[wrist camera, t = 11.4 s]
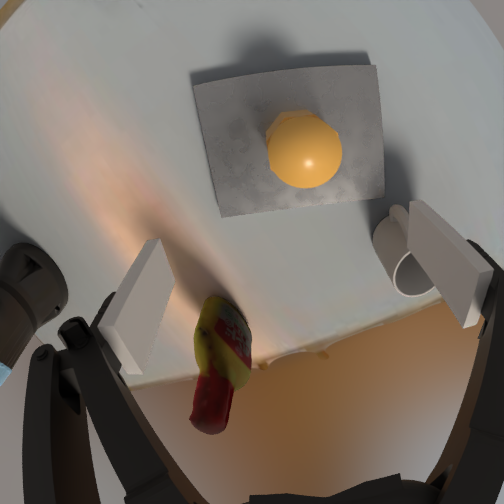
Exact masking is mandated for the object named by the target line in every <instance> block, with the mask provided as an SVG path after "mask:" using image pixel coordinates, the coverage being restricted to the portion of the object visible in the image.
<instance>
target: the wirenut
mask: <svg viewBox="0 0 504 504" xmlns="http://www.w3.org/2000/svg"><path fill="white" fill-rule="evenodd" d="M266 144H267V150H268V157H269V162H270V169H271V170H272V171H273V172H274V173H275V174H276V175H277V176H278V177H279V178H280V179H281V180H282V181H283V182H285V183H287V184H289V185H291V186H294V187H297V188H313V187H317V186H320V185H322V184H324V183H325V182H327V181H328V180H329V179H331V178H332V177H333V176H334V174H335V173H336V172H337V170H338V168H339V166H340V163H341V159H342V146H341V142H340V139H339V137H338V133H337V132H336V131H335V130H334V129H333V128H331V127H330V126H329V125H328V124H326V123H325V122H324V121H323V120H321V119H320V118H319V117H318V116H316V115H315V114H313V113H312V112H310V111H308V110H297V111H288V112H281V113H280V114H279V116H278V117H277V118H276V119H275V121H274V122H273V123H272V125H271V126H270V127H269V128H268V130H267V131H266Z"/></svg>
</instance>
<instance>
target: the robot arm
mask: <svg viewBox="0 0 504 504" xmlns="http://www.w3.org/2000/svg"><path fill="white" fill-rule="evenodd" d="M407 248H408V249H409V251H410V252H411V253H412V255H413V256H414V257H415V259H416V260H417V261H418V263H419V264H420V265H421V267H422V268H423V269H424V271H425V272H426V274H427V275H428V276H429V278H430V279H431V281H432V282H433V284H434V285H435V287H436V288H437V289H438V291H439V292H440V294H441V295H442V297H443V298H444V300H445V301H446V303H447V304H448V306H449V307H450V309H451V310H452V312H453V314H454V315H455V317H456V318H457V320H458V321H459V323H460V325H461V326H462V328H466V327H470V326H473V325H476V324H477V322H478V320H479V317H480V314H482V315H483V316H484V318H485V321H484V324H483V326H482V329H481V331H480V334H479V336H478V339H480V340H479V346H478V349H477V354H476V357H475V361H474V365H473V369H472V372H471V376H470V379H469V383H468V386H467V389H466V392H465V395H464V398H463V401H462V404H461V407H460V410H459V413H458V415H457V418H456V421H455V424H454V426H453V429H452V431H451V434H450V436H449V439H448V441H447V443H446V445H445V448H444V450H443V452H442V455H441V457H440V459H439V461H438V463H437V465H436V466H435V468H434V469H433V471H432V472H431V474H430V475H429V477H428V479H427V480H426V482H425V483H424V482H420V481H415V480H401V477H400V473H398V474H395V475H391V476H387V477H384V478H379V479H375V480H371V481H366V482H363V483H361V484H359V485H357V486H354V487H352V488H350V489H347V490H345V491H343V492H340V493H338V494H335V495H333V496H330V497H312V496H304V495H295V494H288V493H285V494H270V495H250V497H249V502H246V503H243V504H495V502H496V500H497V497H498V494H499V492H500V490H501V487H502V484H503V481H504V271H503V270H502V268H501V267H500V266H499V265H498V264H497V263H496V262H495V261H494V260H493V259H492V258H491V257H490V256H489V255H488V254H487V253H486V252H484V250H483V249H482V248H481V247H480V246H479V245H478V244H477V243H475V242H473V241H471V240H469V239H468V240H465V239H464V238H463V237H462V236H461V235H460V234H459V233H458V232H457V231H456V230H455V229H454V228H453V227H452V226H451V225H450V224H448V223H447V222H446V221H445V220H444V219H443V218H442V217H441V216H440V215H439V214H437V213H436V212H435V211H434V210H433V209H432V208H431V207H430V206H428V205H427V204H426V203H425V202H424V201H423V200H416V201H410V202H409V225H408V240H407ZM174 283H175V279H174V276H173V273H172V271H171V268H170V265H169V262H168V260H167V257H166V254H165V251H164V248H163V245H162V243H161V240H160V238H158V239H153V240H147V242H146V243H145V245H144V246H143V248H142V250H141V251H140V253H139V254H138V256H137V258H136V259H135V261H134V263H133V264H132V266H131V268H130V269H129V271H128V273H127V274H126V276H125V278H124V280H123V281H122V283H121V285H120V286H119V288H118V290H117V292H112V293H111V294H110V295H109V296H108V297H107V298H106V299H105V301H104V302H103V304H102V306H101V308H100V309H99V311H98V314H97V315H96V316H95V318H94V320H93V322H92V324H91V325H90V327H89V326H88V325H87V323H86V321H85V320H84V319H83V317H79V316H78V317H73V318H71V319H69V320H67V321H66V322H64V323H63V324H62V325H61V327H60V328H59V330H58V337H59V338H60V340H61V341H62V343H63V344H64V345H65V347H66V348H67V349H64V350H61V351H56V350H55V348H54V347H53V346H52V345H51V344H44V345H42V346H40V347H38V348H37V349H36V350H35V351H34V353H33V354H32V357H31V360H30V366H29V373H28V381H27V389H26V397H25V408H24V421H23V444H22V465H23V466H22V468H23V490H24V491H23V492H24V504H101V502H100V498H99V493H98V489H97V484H96V478H95V473H94V468H93V461H92V455H91V448H90V441H89V433H88V424H87V414H86V407H87V409H88V412H89V415H90V417H91V419H92V422H93V424H94V427H95V429H96V432H97V434H98V436H99V439H100V441H101V443H102V445H103V447H104V450H105V452H106V454H107V456H108V458H109V460H110V462H111V464H112V466H113V468H114V470H115V472H116V474H117V476H118V478H119V480H120V482H121V484H122V485H123V487H124V489H125V491H126V496H125V497H124V501H125V504H209V503H208V502H207V501H206V500H205V499H204V498H203V497H202V496H201V494H200V493H199V492H198V491H197V489H196V488H195V487H194V486H193V484H192V483H191V482H190V481H189V479H188V478H187V477H186V475H185V474H184V473H183V472H182V470H181V469H180V468H179V466H178V465H177V463H176V462H175V461H174V459H173V458H172V456H171V455H170V454H169V452H168V451H167V449H166V448H165V446H164V445H163V443H162V442H161V441H160V439H159V437H158V436H157V435H156V433H155V431H154V430H153V428H152V427H151V425H150V424H149V422H148V420H147V419H146V417H145V416H144V414H143V412H142V411H141V409H140V407H139V406H138V404H137V402H136V401H135V399H134V397H133V395H132V394H131V392H130V390H129V388H128V386H127V385H126V383H125V381H124V379H123V377H122V376H121V375H120V373H119V371H120V368H121V366H123V368H124V369H125V371H126V372H127V374H144V371H145V367H146V364H147V361H148V358H149V355H150V352H151V349H152V346H153V343H154V340H155V337H156V334H157V331H158V328H159V325H160V322H161V320H162V317H163V314H164V311H165V308H166V305H167V303H168V300H169V297H170V294H171V292H172V289H173V286H174ZM67 301H68V289H67V285H66V282H65V280H64V277H63V275H62V273H61V272H60V270H59V269H58V267H57V266H56V264H55V263H54V262H53V261H52V260H51V258H50V257H49V256H48V255H46V254H45V253H44V252H43V251H42V250H40V249H39V248H37V247H35V246H33V245H31V244H27V243H18V244H15V245H14V246H12V247H11V248H10V249H9V250H8V251H7V252H6V253H5V254H4V256H3V258H2V260H1V262H0V386H1V385H2V384H3V382H4V381H5V379H6V378H7V377H8V375H9V374H10V373H11V372H12V369H13V367H14V365H15V364H16V362H17V360H18V359H19V357H20V355H21V354H22V352H23V351H24V349H25V347H26V346H27V344H28V343H29V341H30V340H31V338H32V337H33V335H34V333H35V332H36V331H37V329H38V328H40V327H41V326H43V325H44V324H46V323H47V322H49V321H51V320H52V319H54V318H55V317H57V316H58V315H59V314H60V313H61V311H62V310H63V309H64V307H65V306H66V304H67Z"/></svg>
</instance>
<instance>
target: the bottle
mask: <svg viewBox="0 0 504 504" xmlns="http://www.w3.org/2000/svg"><path fill="white" fill-rule="evenodd" d="M251 343H252V335H251V331H250V329H249V327H248V325H247V323H246V322H245V320H244V319H243V317H242V316H241V314H240V313H239V311H238V310H237V309H236V308H235V307H234V306H233V305H232V304H231V303H230V302H228V301H227V300H225V299H223V298H220V297H209V298H207V299H206V300H205V303H204V306H203V308H202V310H201V314H200V317H199V320H198V323H197V326H196V328H195V333H194V350H195V358H196V362H197V364H198V367H199V369H200V374H199V377H198V381H197V387H196V390H195V395H194V401H193V411H192V414H191V416H190V418H189V420H190V421H191V423H192V424H193V426H194V427H195V428H197V429H198V430H200V431H201V432H203V433H206V434H210V435H214V434H218V433H220V432H222V431H224V430H225V428H226V425H227V423H228V419H229V412H230V408H231V403H232V397H233V393H234V391H236V390H238V389H240V388H242V387H243V386H244V385H245V384H246V383H247V381H248V380H249V377H250V373H251V362H252V359H251Z"/></svg>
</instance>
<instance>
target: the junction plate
mask: <svg viewBox="0 0 504 504" xmlns="http://www.w3.org/2000/svg"><path fill="white" fill-rule="evenodd" d="M193 89H194V94H195V99H196V104H197V108H198V113H199V118H200V123H201V127H202V132H203V137H204V141H205V146H206V151H207V155H208V160H209V164H210V169H211V173H212V178H213V182H214V187H215V191H216V196H217V200H218V205H219V209H220V213H221V218H224V217H231V216H237V215H244V214H252V213H259V212H266V211H274V210H281V209H289V208H297V207H305V206H313V205H322V204H330V203H339V202H348V201H357V200H367V199H376V198H385V179H384V147H383V130H382V116H381V105H380V95H379V85H378V77H377V69H376V65H339V66H320V67H307V68H296V69H287V70H278V71H270V72H263V73H256V74H250V75H244V76H238V77H232V78H227V79H222V80H217V81H212V82H207V83H203V84H198V85H194V86H193ZM297 110H308V111H310V112H312V113H313V114H315V115H316V116H318V117H319V118H320V119H321V120H323V121H324V122H325V123H326V124H328V125H329V126H330V127H331V128H333V129H334V130H335V131H336V132H337V133H338V137H339V139H340V142H341V146H342V159H341V163H340V166H339V168H338V170H337V172H336V173H335V174H334V176H333V177H332V178H331V179H329V180H328V181H327V182H325V183H324V184H322V185H320V186H317V187H313V188H297V187H294V186H291V185H289V184H287V183H285V182H283V181H282V180H281V179H280V178H279V177H278V176H277V175H276V174H275V173H274V172H273V171H272V170H271V169H270V162H269V157H268V150H267V144H266V131H267V130H268V128H269V127H270V126H271V125H272V123H273V122H274V121H275V119H276V118H277V117H278V116H279V114H280V113H281V112H288V111H297Z"/></svg>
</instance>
